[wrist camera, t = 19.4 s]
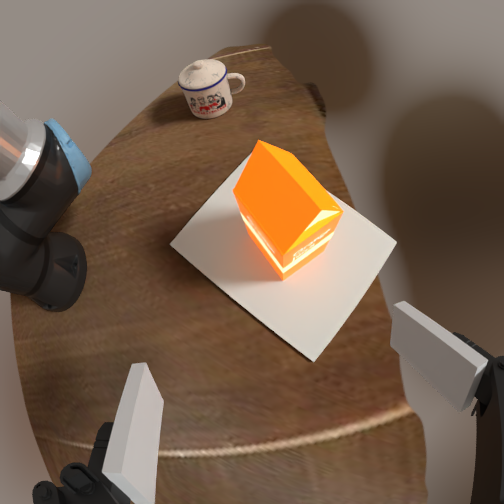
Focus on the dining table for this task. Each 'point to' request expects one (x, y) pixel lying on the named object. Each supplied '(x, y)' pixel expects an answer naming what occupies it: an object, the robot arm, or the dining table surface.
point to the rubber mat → (296, 285)
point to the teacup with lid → (208, 87)
